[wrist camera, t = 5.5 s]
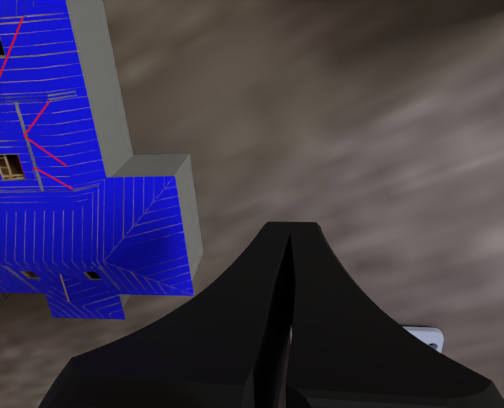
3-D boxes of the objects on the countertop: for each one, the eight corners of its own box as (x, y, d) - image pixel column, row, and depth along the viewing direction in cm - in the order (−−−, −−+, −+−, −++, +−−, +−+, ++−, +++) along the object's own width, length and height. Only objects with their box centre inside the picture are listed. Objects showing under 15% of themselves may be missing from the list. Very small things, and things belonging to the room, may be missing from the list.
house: (26, 274, 26) (-37, 340, 22) (-75, -11, 20) (-196, -7, 15) (212, 276, 25) (189, 347, 20) (171, -32, 18) (122, -35, 14)
